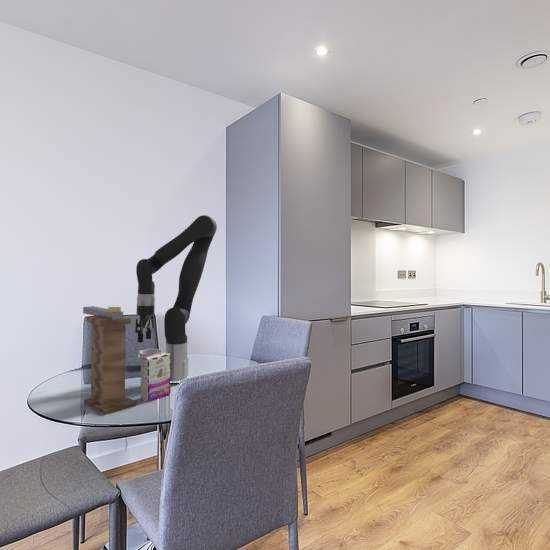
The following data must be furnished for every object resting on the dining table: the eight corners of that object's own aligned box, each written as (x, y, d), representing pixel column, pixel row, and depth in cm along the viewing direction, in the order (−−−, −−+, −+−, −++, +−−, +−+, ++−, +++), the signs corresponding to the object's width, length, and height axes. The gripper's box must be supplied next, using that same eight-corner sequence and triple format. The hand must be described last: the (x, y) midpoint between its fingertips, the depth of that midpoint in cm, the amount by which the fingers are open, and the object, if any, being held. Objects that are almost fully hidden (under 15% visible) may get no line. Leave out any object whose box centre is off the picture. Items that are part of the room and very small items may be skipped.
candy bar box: (162, 391, 156) (162, 351, 155) (170, 394, 153) (171, 353, 153) (139, 399, 146) (139, 357, 146) (148, 402, 144) (148, 359, 143)
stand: (83, 402, 142) (83, 316, 141) (114, 394, 151) (115, 314, 151) (104, 414, 131) (105, 321, 130) (136, 405, 140) (137, 318, 139)
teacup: (166, 366, 195) (166, 350, 195) (148, 370, 186) (149, 354, 186) (147, 362, 203) (148, 347, 202) (130, 366, 194) (130, 350, 193)
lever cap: (83, 313, 151) (83, 302, 151) (93, 312, 154) (93, 302, 154) (112, 319, 135) (112, 308, 135) (123, 318, 138) (123, 307, 138)
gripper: (147, 306, 162) (146, 344, 162) (160, 303, 176) (158, 338, 176) (130, 305, 163) (129, 343, 163) (144, 302, 177) (143, 337, 177)
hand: (144, 340), depth 170 cm, fingers open, 8 cm apart
